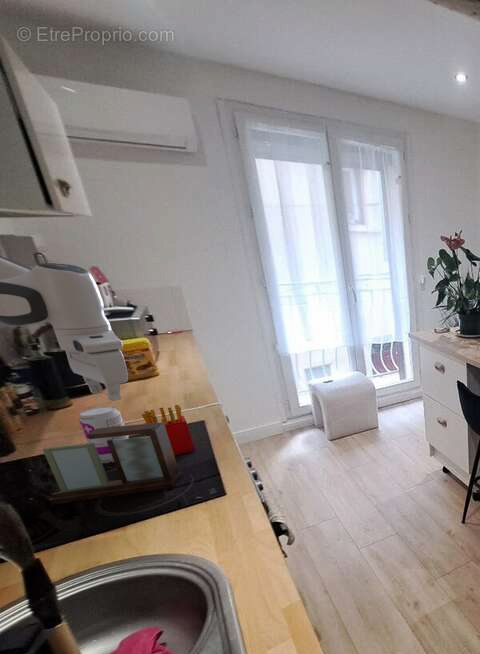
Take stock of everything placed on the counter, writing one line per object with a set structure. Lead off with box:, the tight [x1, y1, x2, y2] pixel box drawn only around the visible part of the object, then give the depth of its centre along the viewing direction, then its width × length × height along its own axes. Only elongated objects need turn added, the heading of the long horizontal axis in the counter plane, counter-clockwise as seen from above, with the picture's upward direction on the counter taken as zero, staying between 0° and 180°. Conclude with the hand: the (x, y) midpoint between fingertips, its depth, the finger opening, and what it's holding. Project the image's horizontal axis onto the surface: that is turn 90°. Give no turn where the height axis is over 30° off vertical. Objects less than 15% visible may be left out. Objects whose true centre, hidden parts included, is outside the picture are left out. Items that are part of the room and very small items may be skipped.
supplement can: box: [78, 406, 130, 464], centre depth 119 cm, size 8×8×15 cm
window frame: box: [49, 422, 182, 506], centre depth 103 cm, size 24×6×17 cm, turn 111°
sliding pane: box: [42, 442, 110, 492], centre depth 100 cm, size 9×1×12 cm, turn 111°
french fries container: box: [141, 404, 196, 457], centre depth 123 cm, size 7×9×14 cm
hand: (106, 396), depth 97 cm, fingers open, 8 cm apart
